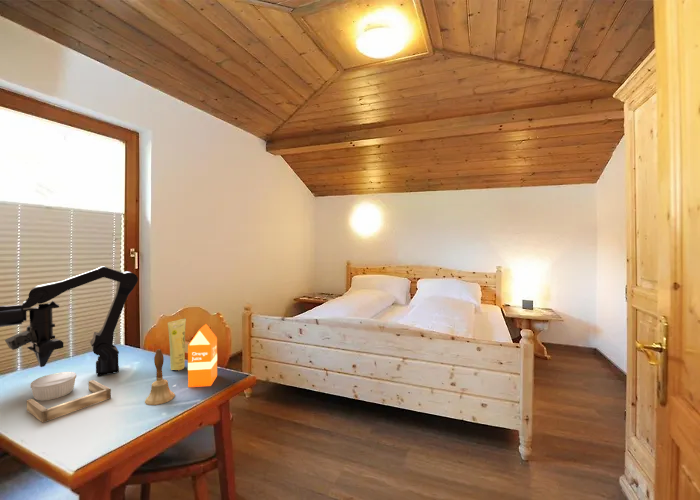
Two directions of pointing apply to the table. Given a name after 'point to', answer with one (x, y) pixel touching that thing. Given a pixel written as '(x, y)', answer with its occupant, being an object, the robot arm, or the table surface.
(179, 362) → the tube
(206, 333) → the orange juice
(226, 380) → the table surface
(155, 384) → the hand bell
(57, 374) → the ramekin
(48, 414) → the cradle
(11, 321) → the robot arm
